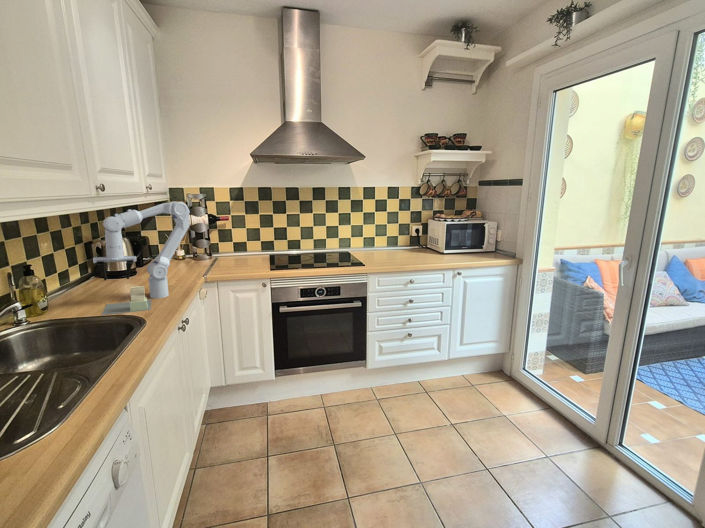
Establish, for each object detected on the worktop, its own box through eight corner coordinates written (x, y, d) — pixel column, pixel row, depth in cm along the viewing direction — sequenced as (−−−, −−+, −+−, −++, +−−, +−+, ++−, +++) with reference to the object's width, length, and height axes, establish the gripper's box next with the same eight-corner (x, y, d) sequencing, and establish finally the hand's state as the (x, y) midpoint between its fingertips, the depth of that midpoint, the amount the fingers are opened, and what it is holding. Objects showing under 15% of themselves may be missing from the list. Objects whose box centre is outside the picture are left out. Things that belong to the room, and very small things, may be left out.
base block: (131, 307, 138) (130, 299, 138) (147, 305, 141) (146, 297, 140) (130, 311, 134) (129, 302, 133) (147, 309, 136) (146, 301, 136)
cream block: (132, 299, 137) (131, 287, 136) (145, 297, 139) (144, 285, 139) (131, 302, 134) (130, 289, 133) (144, 300, 136) (143, 288, 135)
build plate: (106, 305, 142) (106, 304, 141) (151, 300, 149) (151, 299, 149) (101, 317, 129) (101, 315, 129) (150, 311, 136) (150, 309, 136)
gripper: (90, 248, 134) (93, 282, 136) (134, 247, 140) (137, 280, 143) (93, 245, 140) (96, 278, 142) (135, 245, 147) (137, 276, 149)
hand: (116, 279), depth 143 cm, fingers open, 7 cm apart
